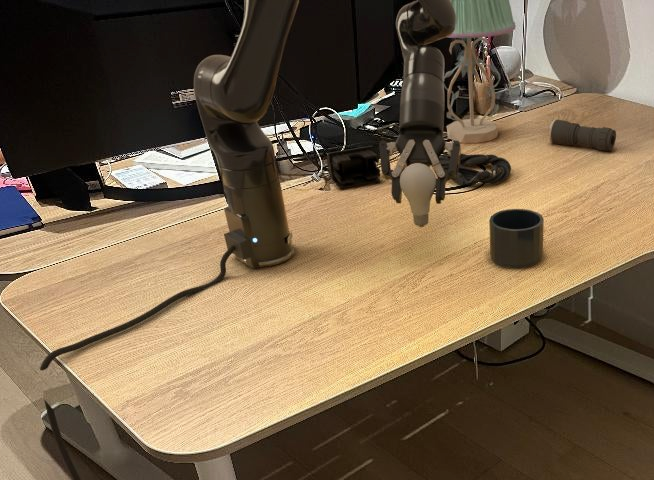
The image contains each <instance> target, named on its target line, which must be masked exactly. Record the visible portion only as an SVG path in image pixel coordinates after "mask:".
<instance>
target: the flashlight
mask: <svg viewBox="0 0 654 480" xmlns="http://www.w3.org/2000/svg"><path fill="white" fill-rule="evenodd" d="M548 138H549V142H550V143H551V144H557V145H562V146H563V145H569V146H577V144H578V145H579V146H585V147H586V146H587V147H590V148H594V149H597V150H599V151H603V152H608V151H612V150H613V149H614V147H615V144H616V141H617V140H616V139H617V132H616V129H613V128H612V127H606V126H602V127H595V126H584V125H580V124H579V123H576V122H575V123H574V122H570V121H569V120H563V119H555V118H554V119H553V121H552V122H551V123H550V127H549V131H548Z"/></svg>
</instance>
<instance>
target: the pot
mask: <svg viewBox="0 0 654 480" xmlns="http://www.w3.org/2000/svg"><path fill="white" fill-rule="evenodd" d="M488 221H489V223H488V224H489V254H490V260H491V262H492V263H494V264H495V265H496V266H499V267H502V268H507V269H526V268H530V267H534V266H536V265H539V263H540V262H542V260H543V257H544V229H545V219H544V217H543V214H540V213H539V212H537V211H534V210H531V209H525V208H509V209H503V210H500V211H497V212H494V213H493V214H492V215H491V216H490V217H489V220H488Z"/></svg>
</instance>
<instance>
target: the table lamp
mask: <svg viewBox="0 0 654 480" xmlns="http://www.w3.org/2000/svg"><path fill="white" fill-rule="evenodd" d="M450 1H451V3H452V5H453V7H454V10H455V13H456V27H455V30H454V32H453V33H452V34H451V35H449V36H448V37H447V38H449V39H451V38H452V39H455V40H453V41H451V42H450V46H449V49H448V51H449V53H450V54H452V51H453V48H454V46H455V45H462V47H464V49H461V51H460V52H459V53H458V56H457V57H456V61H457V62H456V63H454V66H455V67H454V68H453V69H451V70H449V71H447V72H445V73H444V82H445V80H446V79H447V78H449V77H451V76H452V75H453V74H454V71H455V70H456V72H455V74H454V75H453V77H452V78H451V81H450V82H449V86H448V88H447V86H446V84H445V83H444V90H446V91H447V95H446V97H447V109H448V111H446V118H447V119H451V120H452V122H451V123H449V124H447V125H446V132H447V139H449V140H452V141H459V142H460V144H479V143H484V142H490V141H492V140H494V139H496V138H497V137H498V135H499V124H497V123H496V122H494V121H492V120H488V119H487V118H492V117H493V116H494V115H495V113H496V112H498V111H499V108H500V107H499V103H497V104H496V95H497V94H496V91H495V88H496V87H497V86H498V85H499V83H500V81H501V79H502V78H501V74H500V72H499V71H498V69H497V67H496V66H494V65H489V64H487V63H485V61H484V60H482V59H481V58H480V57H477V55H476V54H477V48H475V46H476V44H477V43H478V42H480V41H482V42H483V43H486V49H487V50H489V48H490V47H489V46H490V42H489V41H488V39H487V37H489V38H490V37H497V36H501V35H505V34H508V33H511V32H514V31H515V29H516V27H517V26H516V22H515V21H514V16H513V13H512V12H513V11H512V7H511V3H510V0H450ZM461 39H466V42H465V41H464V40H461ZM472 39H474V41H472ZM481 64H482V65H485V66H487V67H488V68H489V69H490V71H492V72H493V73H496V74H497V76H498V78H497V79H498V80H497V82H496V84H494V82H493V79H492V78H491V77H490V76H489V74H488V73H487V71H486V70H485V69H484V67H483V66H482V65H481ZM476 66H477V67H478V68H479V70H480V71H481V72H482V73H483V75H484V76H485V78H486V79H487V80H488V82H489V85H490V89H488V88H487V87H486V86H484V91H485V93H486V94H487V95H488V96H490V98H491V101H490V107H489V109H487V111H486V113H484V115H483V116H482V117H481V118H475V109H474V80H473V79H474V78H473V76H475V77H478V75H477V69H476ZM460 73H461V77H462V78H464V77H465V76H466V74H467V73H468V74H467V76H468V78H467V79H468V94H469V95H468V100H469V118H466V119H461V118H460V117H458V116H457V115H456V114H455V112H454V111H453V104H454V102H455V100H456V99H458V97H459V95H460V89H458V90H457V91H456V92H455V93H454V91H453V90H452V89H453V85H454V83H455V82H456V81H457V78H458V76H459V75H460ZM451 94H452V95H451ZM450 99H451V101H450ZM492 110H493V112H492V113H491V111H492ZM490 113H491V114H490Z"/></svg>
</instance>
